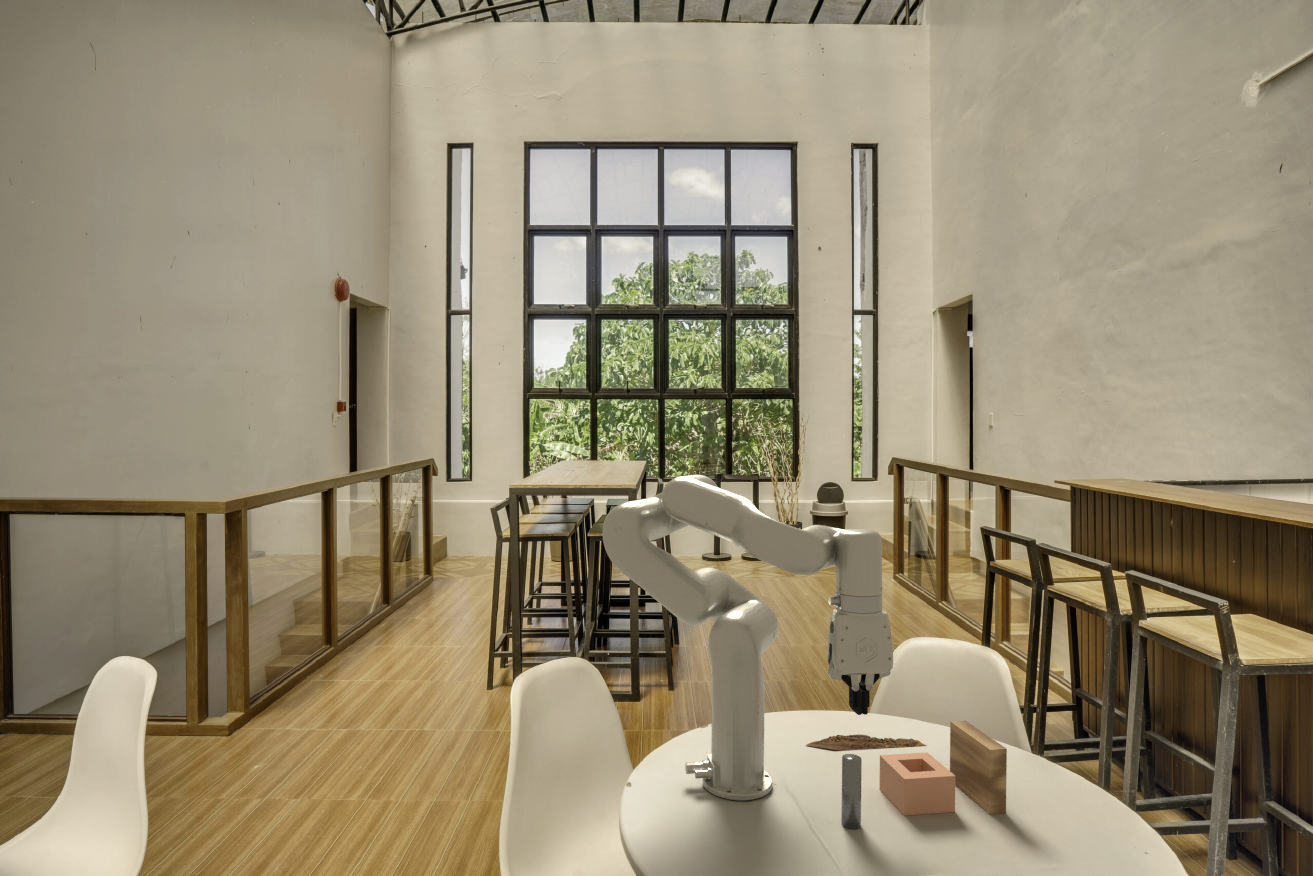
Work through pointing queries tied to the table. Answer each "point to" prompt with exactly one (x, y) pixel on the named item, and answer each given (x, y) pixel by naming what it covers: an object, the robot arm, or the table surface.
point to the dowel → (851, 791)
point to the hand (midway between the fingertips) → (859, 711)
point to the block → (917, 783)
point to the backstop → (978, 766)
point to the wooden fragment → (863, 743)
